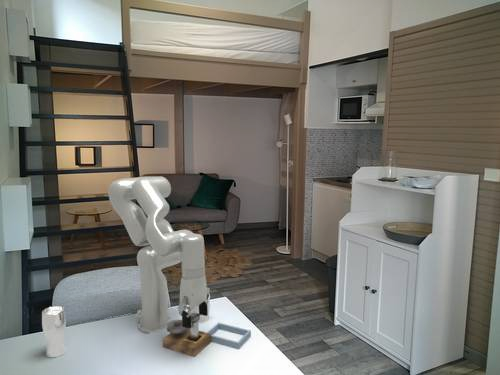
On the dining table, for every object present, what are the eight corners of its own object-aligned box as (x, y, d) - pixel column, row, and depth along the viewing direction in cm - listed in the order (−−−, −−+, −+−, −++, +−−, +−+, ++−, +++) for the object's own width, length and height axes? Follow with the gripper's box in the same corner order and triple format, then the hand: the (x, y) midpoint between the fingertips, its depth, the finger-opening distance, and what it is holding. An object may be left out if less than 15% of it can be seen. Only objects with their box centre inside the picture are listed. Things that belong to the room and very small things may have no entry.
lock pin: (186, 348, 131) (185, 316, 130) (192, 342, 135) (192, 312, 133) (196, 351, 130) (195, 319, 128) (202, 345, 133) (202, 314, 132)
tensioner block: (160, 349, 132) (159, 327, 131) (178, 335, 141) (177, 314, 140) (194, 359, 126) (194, 337, 125) (211, 344, 135) (210, 323, 134)
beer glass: (72, 348, 132) (69, 307, 130) (56, 360, 126) (53, 316, 124) (56, 345, 135) (53, 304, 132) (39, 356, 128) (36, 313, 126)
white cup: (206, 326, 148) (206, 301, 146) (187, 324, 149) (186, 299, 148) (212, 316, 156) (212, 293, 154) (193, 315, 157) (193, 291, 156)
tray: (204, 342, 137) (204, 334, 136) (218, 330, 145) (218, 322, 145) (238, 351, 131) (238, 343, 131) (250, 338, 139) (250, 330, 139)
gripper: (198, 262, 138) (200, 308, 140) (167, 278, 122) (170, 330, 124) (216, 265, 134) (218, 312, 136) (187, 282, 119) (189, 335, 121)
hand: (195, 320), depth 130 cm, fingers open, 9 cm apart
